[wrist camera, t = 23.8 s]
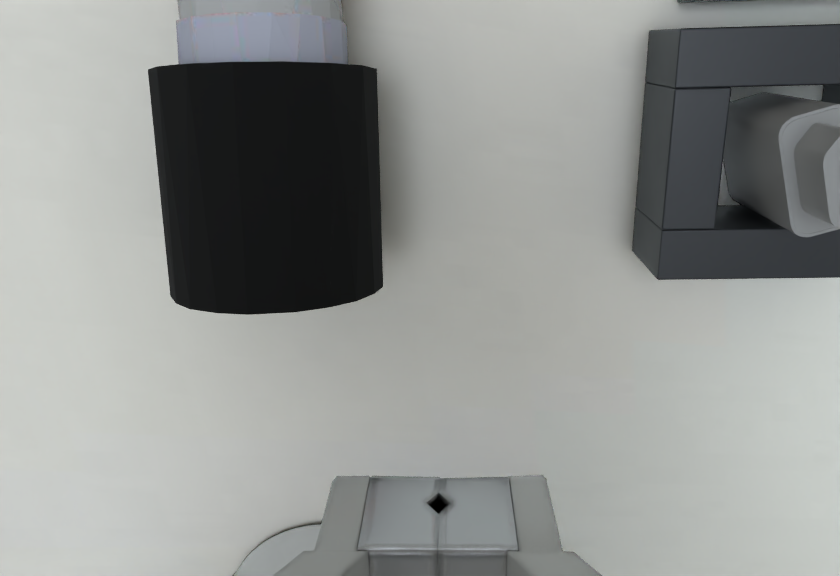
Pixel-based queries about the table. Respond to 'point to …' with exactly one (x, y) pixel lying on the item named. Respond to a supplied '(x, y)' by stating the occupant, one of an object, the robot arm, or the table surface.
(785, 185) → the power adapter
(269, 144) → the multicoloured piece
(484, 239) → the table surface
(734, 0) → the switch box
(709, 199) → the grey square frame
